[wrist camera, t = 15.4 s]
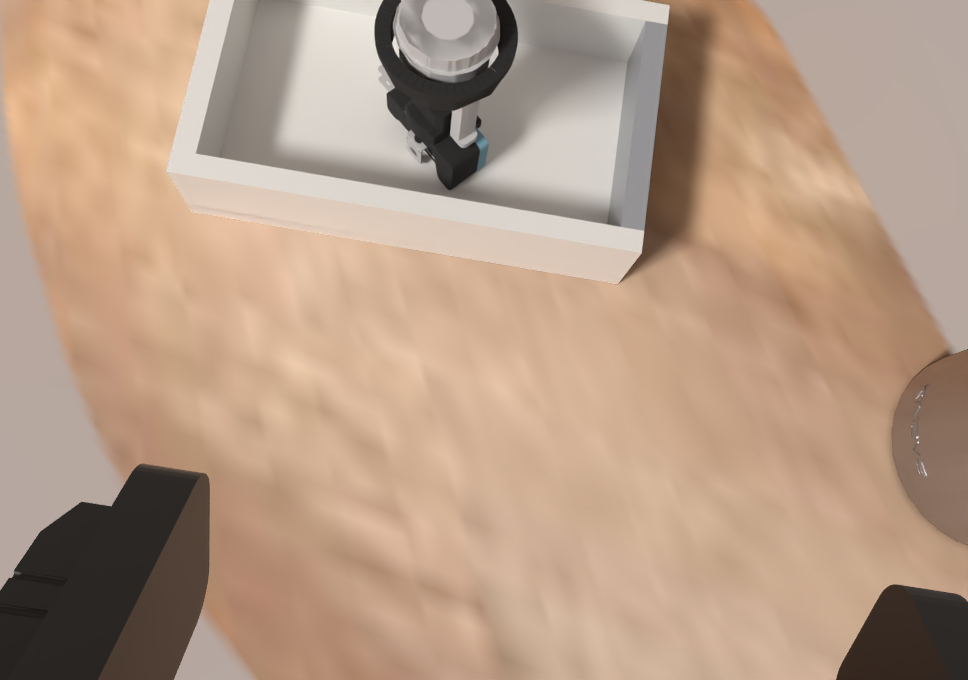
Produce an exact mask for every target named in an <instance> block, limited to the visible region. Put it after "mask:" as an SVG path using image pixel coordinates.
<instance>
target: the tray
mask: <svg viewBox="0 0 968 680" xmlns="http://www.w3.org/2000/svg"><path fill="white" fill-rule="evenodd" d="M382 1H383V0H210V2H209V6H208V10H207V14H206V18H205V22H204V26H203V29H202V33H201V37H200V41H199V45H198V49H197V53H196V57H195V61H194V64H193V68H192V72H191V76H190V80H189V84H188V88H187V92H186V96H185V99H184V103H183V107H182V111H181V115H180V119H179V123H178V127H177V131H176V134H175V138H174V142H173V146H172V150H171V154H170V158H169V162H168V166H167V169H166V172H167V174H168V175H169V177H170V179H171V180H172V182H173V183H174V185H175V186H176V188H177V190H178V191H179V193H180V194H181V196H182V197H183V199H184V201H185V202H186V204H187V205H188V207H189V208H190V210H191V211H192V212H194V213H200V214H206V215H212V216H218V217H224V218H230V219H235V220H241V221H247V222H253V223H259V224H265V225H271V226H277V227H283V228H289V229H294V230H300V231H306V232H312V233H318V234H324V235H330V236H336V237H342V238H347V239H353V240H359V241H365V242H371V243H377V244H383V245H389V246H395V247H401V248H406V249H412V250H418V251H424V252H430V253H436V254H442V255H448V256H454V257H459V258H465V259H471V260H477V261H483V262H489V263H495V264H501V265H507V266H513V267H518V268H524V269H530V270H536V271H542V272H548V273H554V274H560V275H566V276H571V277H577V278H583V279H589V280H595V281H601V282H607V283H613V284H618V283H619V282H620V281H621V279H622V278H623V277H624V275H625V274H626V273H627V272H628V270H629V269H630V268H631V266H632V265H633V264H634V262H635V261H636V260H637V259H638V257H639V256H640V255H641V253H642V246H643V237H644V229H645V220H646V211H647V202H648V193H649V184H650V176H651V167H652V158H653V149H654V140H655V131H656V123H657V114H658V105H659V96H660V87H661V78H662V70H663V61H664V52H665V43H666V34H667V25H668V17H669V8H670V5H665V4H659V3H654V2H649V1H643V0H506V1H507V2H508V4H509V6H510V7H511V9H512V11H513V13H514V16H515V19H516V23H517V27H518V44H517V50H516V54H515V58H514V61H513V63H512V66H511V68H510V69H509V71H508V73H507V74H506V76H505V77H504V78H503V79H502V80H501V82H500V83H499V85H498V86H497V87H496V89H495V90H494V92H493V93H492V94H491V95H490V96H487V97H485V98H483V99H481V100H479V106H478V113H477V115H478V117H479V118H480V119H481V120H482V122H481V126H480V127H479V128H478V130H479V131H480V132H481V133H482V134H483V136H484V137H485V138H486V140H487V141H488V145H489V146H488V151H487V156H486V164H485V165H484V166H483V167H481V168H480V169H479V170H477V171H476V172H475V173H474V174H472V175H471V176H469V177H468V178H467V179H465V180H464V181H463V182H461V183H460V184H459V185H457V186H456V187H455V188H453V189H452V190H448V189H447V188H446V187H445V186H444V185H443V183H442V182H441V181H440V180H439V178H438V176H437V171H436V165H435V162H434V161H433V160H432V159H431V158H430V156H429V155H428V154H427V153H426V152H425V150H423V152H422V164H420V163H418V162H417V160H416V159H415V158H414V157H413V156H412V155H411V153H410V152H409V151H408V149H407V147H406V137H407V136H406V134H407V133H408V131H407V129H406V128H405V127H404V126H403V125H402V124H401V122H400V121H399V120H397V119H395V118H394V116H393V115H392V114H391V113H390V111H389V110H388V107H387V93H388V91H387V90H386V88H385V87H384V86H383V85H382V84H381V83H380V81H379V77H380V76H382V74H381V73H380V72H379V71H378V67H379V66H380V65H382V63H381V61H380V59H379V57H378V54H377V50H376V46H375V36H374V26H375V19H376V15H377V12H378V10H379V7H380V5H381V3H382ZM392 45H393V48H394V50H395V52H396V54H397V56H398V57H399V47H398V45H397V43H396V39H395V36H394V39H393V42H392ZM498 54H499V53H498V47H496V49H495V51H494V53H493V55H492V56H491V57H490V60H489V66H488V68H489V67H490V66H491V65H492V63H493V62H494V61H495V59H496V58H497V56H498ZM386 83H387V84H388V85H390V84H389V82H388V81H386ZM412 150H413V152H414V153H415V154H416V152H415V151H414V149H413V148H412ZM416 155H417V154H416Z"/></svg>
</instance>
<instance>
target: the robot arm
mask: <svg viewBox="0 0 968 680" xmlns="http://www.w3.org/2000/svg"><path fill="white" fill-rule="evenodd" d="M892 449H893V457H894V461H895V465H896V469H897V472H898V476H899V478H900V480H901V482H902V484H903V486H904V488H905V491H906V493H907V495H908V497H909V498H910V499H911V501H912V502H913V503H914V505H915V506H916V507H917V509H918V510H919V511H920V513H921V514H922V515H923V516H924V517H925V518H926V519H927V520H928V521H929V522H930V523H932V524H933V525H934V526H935V527H936V528H937V529H938V530H940V531H941V532H943V533H944V534H946V535H948V536H949V537H951V538H952V539H954V540H956V541H957V542H960V543H963V544H965V545H968V349H967V350H964V351H961V352H959V353H956V354H953V355H950V356H948V357H945V358H942V359H940V360H939V361H937V362H935V363H933V364H931V365H929V366H927V367H926V368H925V369H924V370H922V371H921V372H920V373H919V374H918V375H917V376H916V377H915V378H914V379H912V381H911V382H910V384H909V385H908V387H907V388H906V390H905V391H904V392H903V394H902V395H901V398H900V401H899V403H898V406H897V408H896V411H895V414H894V420H893V427H892ZM209 514H210V485H209V478H208V476H207V474H205V473H198V472H192V471H185V470H179V469H173V468H166V467H160V466H154V465H147V464H140V465H138V466H137V467H136V468H135V469H134V470H133V472H132V473H131V475H130V476H129V478H128V480H127V481H126V483H125V485H124V486H123V488H122V490H121V491H120V493H119V495H118V497H117V498H116V500H115V501H114V503H113V505H112V506H105V505H98V504H92V503H85V502H81V503H79V504H78V505H77V506H75V507H74V508H72V509H71V510H70V511H68V512H67V513H66V514H64V515H63V516H61V517H60V518H59V519H57V520H56V521H54V522H53V523H52V524H50V525H49V526H48V527H46V528H45V529H43V530H42V531H41V532H40V533H39V534H38V536H37V538H36V539H35V540H34V542H33V543H32V545H31V546H30V548H29V550H28V551H27V552H26V554H25V555H24V557H23V558H22V560H21V561H20V562H19V564H18V565H17V567H16V568H15V570H14V575H13V577H12V578H9V579H8V580H7V582H6V583H5V585H4V586H3V588H2V589H1V590H0V680H174V678H175V675H176V673H177V670H178V668H179V665H180V663H181V661H182V658H183V656H184V653H185V651H186V648H187V646H188V643H189V641H190V638H191V636H192V634H193V631H194V629H195V627H196V624H197V621H198V619H199V616H200V613H201V609H202V606H203V602H204V598H205V594H206V589H207V583H208V576H209ZM836 680H968V602H967V601H966V599H965V598H963V597H962V596H960V595H958V594H954V593H947V592H941V591H934V590H928V589H922V588H915V587H909V586H903V585H890V586H889V587H887V588H886V589H885V590H884V591H883V592H882V593H881V595H880V596H879V598H878V600H877V602H876V603H875V605H874V607H873V609H872V611H871V612H870V614H869V616H868V618H867V620H866V621H865V623H864V625H863V627H862V628H861V630H860V632H859V634H858V636H857V637H856V639H855V641H854V643H853V644H852V646H851V648H850V650H849V652H848V653H847V655H846V657H845V659H844V661H843V662H842V664H841V666H840V668H839V671H838V674H837V679H836Z"/></svg>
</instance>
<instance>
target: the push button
mask: <svg viewBox="0 0 968 680" xmlns="http://www.w3.org/2000/svg"><path fill="white" fill-rule="evenodd" d="M374 36H375V46H376V50H377V54H378V57H379V59H380V61H381V63H382V65H380V66H379V67H378V71H379V72H380V73H381V74H382V76H380V77H379V81H380V83H381V84H382V85H383V86H384V87H385V88H386V90H387V91H388V93H387V107H388V110H389V111H390V113H391V114H392V115H393V116H394V118H395V119H397V120H399V121H400V122H401V124H402V125H403V126H404V127H405V128H406V129H407V131H408V133H407V134H406V136H407V137H406V147H407V149H408V151H409V152H410V153H411V155H412V156H413V157H414V158H415V159H416V160H417V162H418V163H420V164H422V152H423V150H425V152H426V153H427V154H428V155H429V156H430V158H431V159H432V160H433V161H434V162H435V165H436V171H437V176H438V178H439V180H440V181H441V182H442V183H443V185H444V186H445V187H446V188H447V189H448V190H452V189H453V188H455V187H456V186H457V185H459V184H460V183H461V182H463V181H464V180H465V179H467V178H468V177H469V176H471V175H472V174H474V173H475V172H476V171H477V170H479V169H480V168H481V167H483V166H484V165H485V164H486V156H487V151H488V146H489V145H488V141H487V140H486V138H485V137H484V136H483V134H482V133H481V132H480V131H479V130H478V128H479V127H480V126H481V122H482V120H481V119H480V118H479V117H478V115H477V113H478V106H479V100H481V99H483V98H485V97H487V96H490V95H491V94H492V93H493V92H494V90H495V89H496V87H497V86H498V85H499V83H500V82H501V80H502V79H503V78H504V77H505V76H506V74H507V73H508V71H509V69H510V68H511V66H512V63H513V61H514V58H515V54H516V50H517V44H518V27H517V23H516V19H515V16H514V13H513V11H512V9H511V7H510V6H509V4H508V2H507V1H506V0H383V1H382V3H381V5H380V7H379V10H378V12H377V15H376V19H375V26H374ZM394 36H395V39H396V43H397V45H398V47H399V57H398V56H397V54H396V52H395V50H394V48H393V45H392V42H393V39H394ZM496 47H498V53H499V54H498V56H497V58H496V59H495V61H494V62H493V63H492V65H491V66H490V67H489V68H488V66H489V60H490V57H491V56H492V55H493V53H494V51H495V49H496ZM386 81H388V82H389V84H390V85H388V84H387V83H386ZM412 148H413V149H414V151H415V152H416V154H417V155H416V154H415V153H414V152H413V150H412Z"/></svg>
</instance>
